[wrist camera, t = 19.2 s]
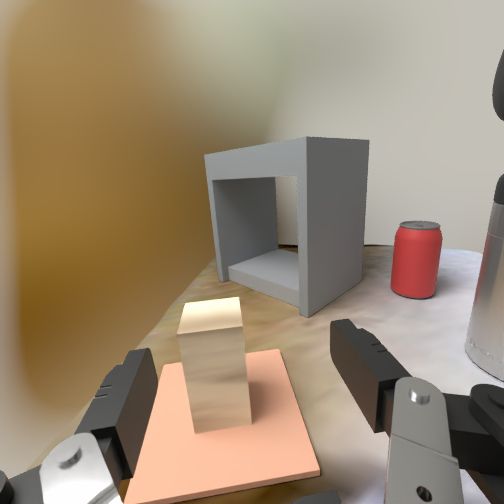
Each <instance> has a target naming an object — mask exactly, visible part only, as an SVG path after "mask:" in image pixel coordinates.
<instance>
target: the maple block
mask: <svg viewBox="0 0 504 504" xmlns="http://www.w3.org/2000/svg"><path fill="white" fill-rule="evenodd" d="M177 338H178V344H179V349H180V355H181V360H182V366H183V371H184V377H185V383H186V388H187V394H188V399H189V405H190V410H191V416H192V421H193V427H194V433H195V434H197V433H204V432H210V431H216V430H222V429H229V428H235V427H241V426H247V425H252V419H251V409H250V398H249V387H248V377H247V366H246V355H245V345H244V334H243V324H242V317H241V310H240V303H239V297H234V298H226V299H217V300H209V301H200V302H192V303H185V307H184V310H183V314H182V317H181V321H180V325H179V328H178V332H177Z"/></svg>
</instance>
